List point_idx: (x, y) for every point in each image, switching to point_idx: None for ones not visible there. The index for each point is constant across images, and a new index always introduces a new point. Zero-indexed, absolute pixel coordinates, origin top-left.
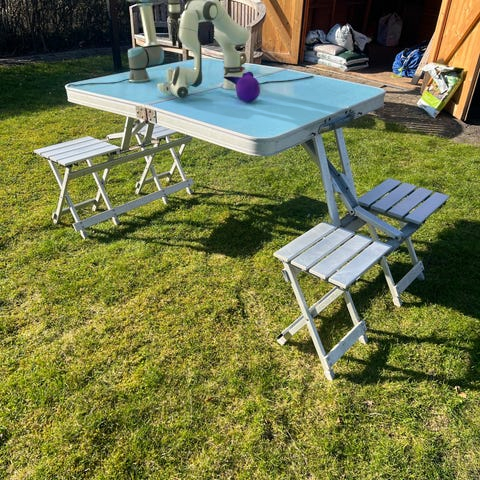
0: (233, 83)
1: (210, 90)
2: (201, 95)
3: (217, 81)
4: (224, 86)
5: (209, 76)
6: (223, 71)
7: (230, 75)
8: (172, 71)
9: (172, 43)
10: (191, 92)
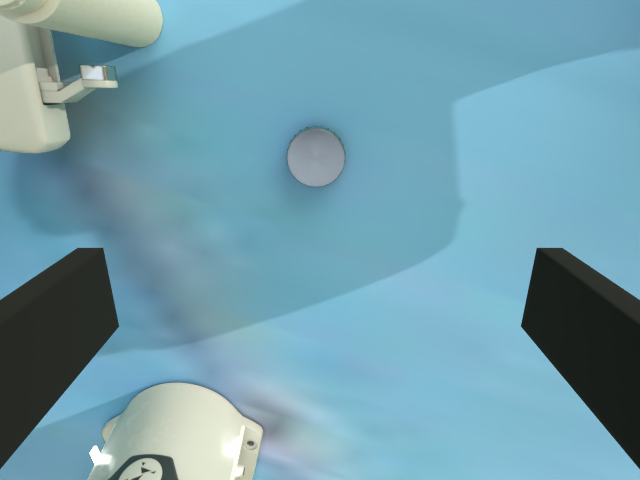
0: (107, 443)
1: (155, 304)
2: (22, 208)
3: (396, 418)
4: (161, 394)
5: (572, 428)
6: (155, 474)
7: (102, 476)
8: (34, 18)
9: (581, 273)
10: (139, 177)
